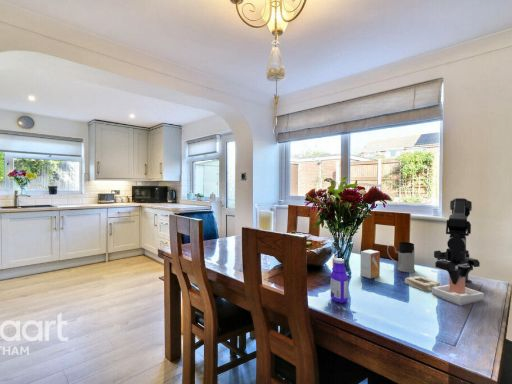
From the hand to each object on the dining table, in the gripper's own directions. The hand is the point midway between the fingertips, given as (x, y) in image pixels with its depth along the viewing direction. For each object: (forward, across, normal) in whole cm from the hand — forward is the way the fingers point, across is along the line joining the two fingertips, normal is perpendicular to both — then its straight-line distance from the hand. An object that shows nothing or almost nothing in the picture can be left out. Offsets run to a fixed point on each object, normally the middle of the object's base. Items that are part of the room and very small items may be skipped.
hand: (457, 283), depth 117 cm
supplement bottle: (+6, +28, -45) cm, 53 cm away
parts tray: (+6, 0, 0) cm, 6 cm away
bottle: (+6, +49, -14) cm, 51 cm away
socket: (+6, +2, -15) cm, 16 cm away
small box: (+6, +15, -35) cm, 39 cm away
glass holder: (+6, -9, -38) cm, 40 cm away
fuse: (+4, 0, 0) cm, 4 cm away
